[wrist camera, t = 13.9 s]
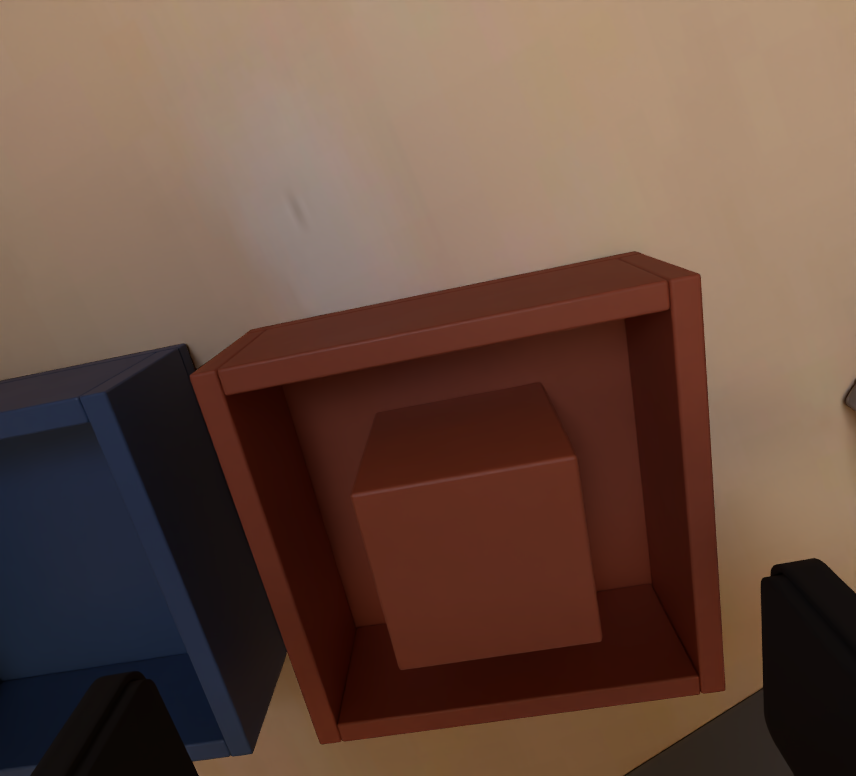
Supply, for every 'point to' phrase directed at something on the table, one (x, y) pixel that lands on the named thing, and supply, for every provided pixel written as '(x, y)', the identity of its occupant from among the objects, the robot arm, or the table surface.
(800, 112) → the table surface
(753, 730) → the alarm clock
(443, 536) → the terracotta block
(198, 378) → the terracotta bin
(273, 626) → the blue bin
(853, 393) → the coffee box
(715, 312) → the table surface
